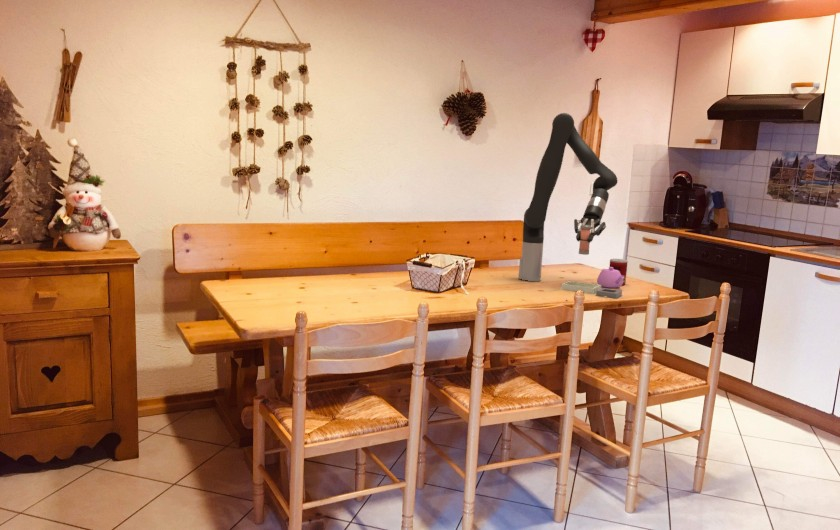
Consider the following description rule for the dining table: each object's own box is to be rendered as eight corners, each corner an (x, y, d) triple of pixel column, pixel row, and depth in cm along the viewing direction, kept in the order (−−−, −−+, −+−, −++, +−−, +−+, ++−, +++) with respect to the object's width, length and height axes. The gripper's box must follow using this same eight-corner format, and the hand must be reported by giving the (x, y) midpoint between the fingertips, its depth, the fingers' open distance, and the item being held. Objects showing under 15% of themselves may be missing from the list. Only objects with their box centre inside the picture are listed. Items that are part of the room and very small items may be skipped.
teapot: (609, 284, 317) (611, 264, 315) (631, 291, 303) (633, 270, 302) (590, 285, 313) (592, 264, 311) (611, 292, 299) (613, 270, 298)
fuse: (577, 253, 295) (579, 225, 293) (580, 252, 299) (582, 224, 297) (587, 254, 293) (589, 226, 291) (590, 253, 296) (592, 225, 294)
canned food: (623, 282, 323) (625, 259, 321) (626, 286, 315) (629, 261, 313) (606, 281, 324) (608, 258, 322) (609, 285, 316) (611, 260, 314)
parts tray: (561, 290, 298) (561, 283, 297) (569, 287, 306) (569, 280, 306) (593, 295, 291) (594, 288, 290) (600, 292, 299) (601, 285, 299)
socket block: (593, 297, 286) (594, 291, 286) (601, 293, 295) (602, 287, 295) (616, 301, 282) (616, 294, 281) (623, 296, 291) (623, 290, 290)
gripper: (577, 202, 302) (565, 233, 294) (610, 205, 295) (598, 236, 287) (580, 214, 308) (568, 244, 299) (612, 217, 300) (601, 248, 292)
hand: (583, 240), depth 293 cm, fingers closed on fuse, 4 cm apart
